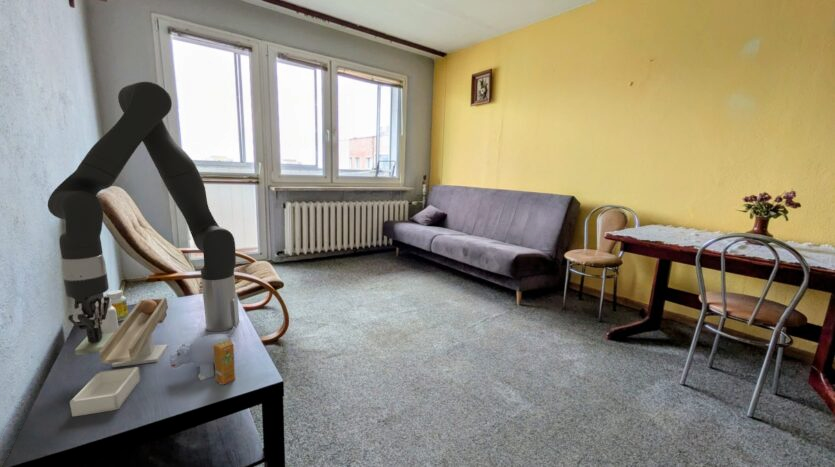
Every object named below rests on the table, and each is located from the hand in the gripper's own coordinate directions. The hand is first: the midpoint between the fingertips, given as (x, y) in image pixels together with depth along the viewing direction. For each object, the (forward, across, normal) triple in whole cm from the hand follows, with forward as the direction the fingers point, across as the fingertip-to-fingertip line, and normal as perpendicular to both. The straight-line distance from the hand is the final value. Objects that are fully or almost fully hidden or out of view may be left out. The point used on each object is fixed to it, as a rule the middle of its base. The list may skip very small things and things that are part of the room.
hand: (95, 340), depth 86 cm
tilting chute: (+4, +7, -3) cm, 9 cm away
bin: (+9, -11, -6) cm, 16 cm away
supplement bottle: (+9, +35, +11) cm, 38 cm away
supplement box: (+9, -12, -30) cm, 34 cm away
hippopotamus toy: (+9, -4, -25) cm, 27 cm away
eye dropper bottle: (+9, +25, +9) cm, 28 cm away
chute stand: (+9, +6, -6) cm, 13 cm away
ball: (-2, +14, -6) cm, 16 cm away
